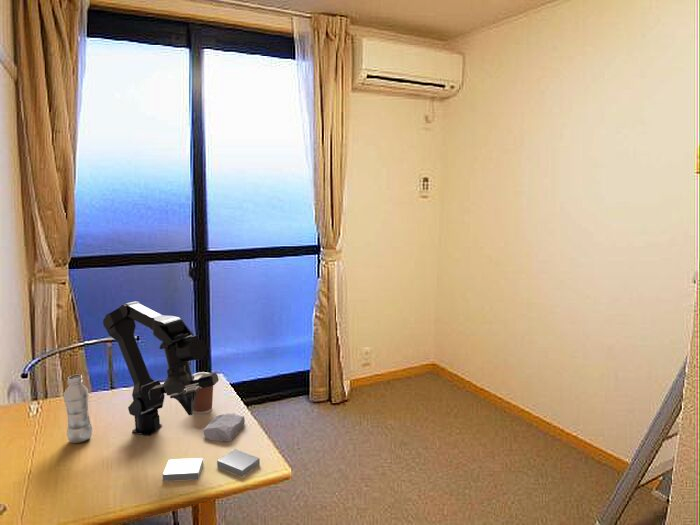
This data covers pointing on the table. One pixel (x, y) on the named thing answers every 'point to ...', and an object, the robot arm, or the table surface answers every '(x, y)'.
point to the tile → (238, 462)
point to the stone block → (224, 427)
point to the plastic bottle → (77, 410)
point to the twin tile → (183, 469)
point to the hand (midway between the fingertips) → (190, 414)
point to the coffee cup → (203, 397)
